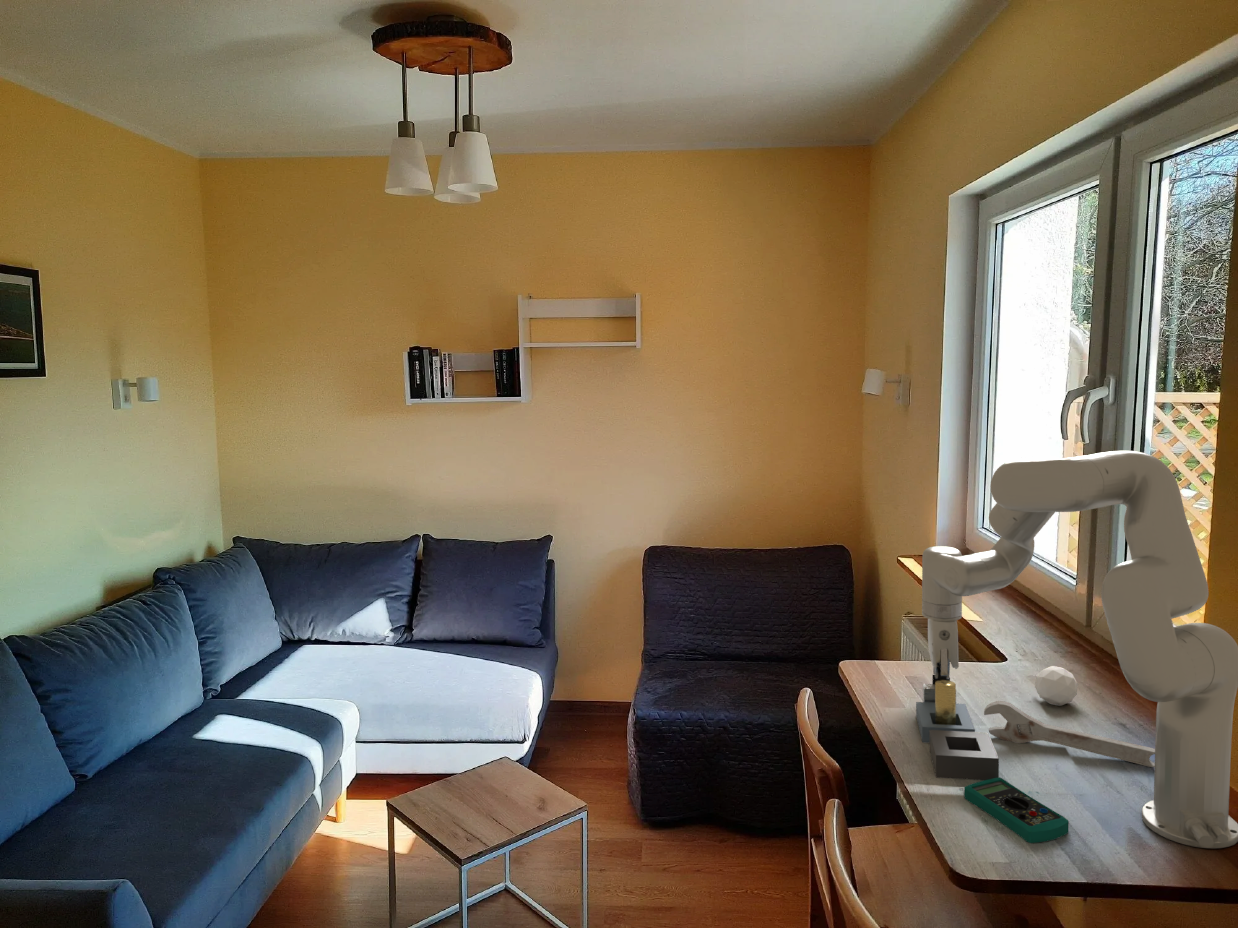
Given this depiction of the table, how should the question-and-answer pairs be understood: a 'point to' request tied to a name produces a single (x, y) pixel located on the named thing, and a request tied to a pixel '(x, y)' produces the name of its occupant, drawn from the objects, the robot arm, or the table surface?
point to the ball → (1056, 685)
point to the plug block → (929, 693)
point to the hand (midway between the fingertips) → (941, 694)
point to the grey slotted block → (963, 755)
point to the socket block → (928, 722)
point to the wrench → (1062, 735)
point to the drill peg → (945, 702)
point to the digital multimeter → (1017, 810)
